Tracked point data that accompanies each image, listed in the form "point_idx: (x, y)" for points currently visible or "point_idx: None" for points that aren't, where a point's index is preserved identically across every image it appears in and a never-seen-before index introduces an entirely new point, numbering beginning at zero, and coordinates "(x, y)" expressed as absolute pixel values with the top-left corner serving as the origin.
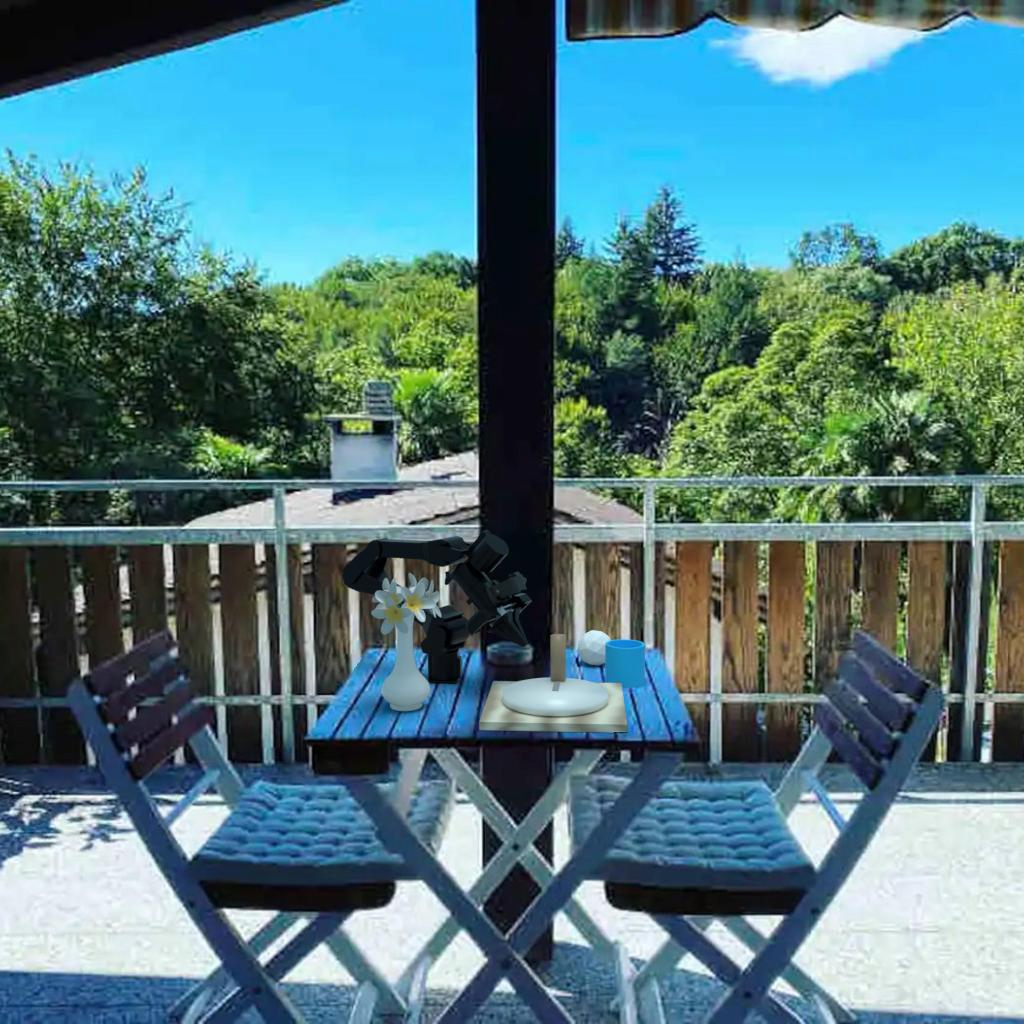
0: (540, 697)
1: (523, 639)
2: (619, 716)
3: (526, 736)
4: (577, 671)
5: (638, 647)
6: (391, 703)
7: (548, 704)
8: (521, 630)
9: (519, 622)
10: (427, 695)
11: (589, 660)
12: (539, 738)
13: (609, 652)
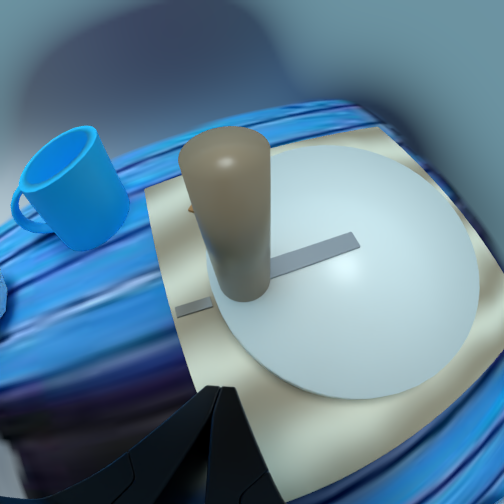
0: (420, 250)
1: (238, 406)
2: (354, 137)
3: (487, 242)
4: (33, 329)
5: (86, 127)
6: None
7: (441, 215)
8: (166, 448)
9: (88, 487)
10: (498, 501)
11: (2, 306)
12: (478, 222)
13: (81, 178)
